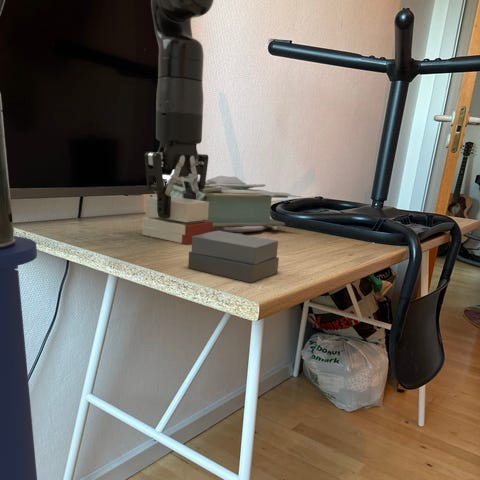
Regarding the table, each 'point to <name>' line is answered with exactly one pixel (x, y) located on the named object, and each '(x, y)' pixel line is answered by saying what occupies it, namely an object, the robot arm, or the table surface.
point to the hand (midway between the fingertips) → (176, 215)
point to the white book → (180, 209)
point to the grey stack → (234, 255)
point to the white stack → (174, 229)
